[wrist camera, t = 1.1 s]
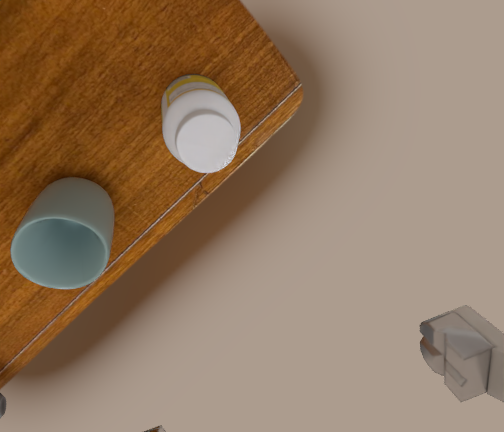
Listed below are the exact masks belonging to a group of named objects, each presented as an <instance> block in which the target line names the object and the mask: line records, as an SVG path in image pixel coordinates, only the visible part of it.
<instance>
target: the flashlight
mask: <svg viewBox="0 0 504 432" xmlns="http://www.w3.org/2000/svg"><path fill="white" fill-rule="evenodd" d="M5 410H6V399H5V397H4V396H3V395H2V394H1V393H0V418H1V417H2V416H3V415H4V413H5Z"/></svg>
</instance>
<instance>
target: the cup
mask: <svg viewBox="0 0 504 432" xmlns="http://www.w3.org/2000/svg"><path fill="white" fill-rule="evenodd" d="M114 224H115V212H114V206H113V202H112V200H111V198H110V196H109V194H108V193H107V192H106V191H105V190H104V189H103V188H102V187H101V186H100V185H98V184H96V183H94V182H92V181H90V180H87V179H83V178H78V177H66V178H62V179H58V180H56V181H54V182H52V183H50V184H49V185H48V186H47V187H45V188H44V189H43V190H42V191H41V192H40V193H39V194H38V196H37V197H36V198H35V200H34V201H33V202H32V204H31V205H30V207H29V208H28V210H27V211H26V213H25V215H24V217H23V218H22V220H21V222H20V223H19V225H18V227H17V229H16V231H15V234H14V236H13V239H12V242H11V249H10V252H11V259H12V262H13V264H14V266H15V267H16V269H17V270H18V272H19V273H21V274H22V275H23V276H24V277H25V278H27V279H29V280H30V281H32V282H34V283H37V284H39V285H42V286H46V287H49V288H56V289H74V288H79V287H83V286H86V285H88V284H90V283H92V282H93V281H94V280H96V279H97V278H98V277H99V276H100V275H101V274H102V272H103V271H104V269H105V267H106V265H107V263H108V260H109V257H110V253H111V248H112V242H113V235H114Z"/></svg>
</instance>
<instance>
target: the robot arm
mask: <svg viewBox="0 0 504 432" xmlns="http://www.w3.org/2000/svg"><path fill="white" fill-rule="evenodd" d="M420 332H421V333H422V334H423V335H424V337H423V338H422V340H421V341H420V347H421V348H420V349H421V352H422V355H423V357H424V359H425V361H426V363H427V364H428V366H429V367H430V368H431V369H432V370H433V371H434V372H435V373H438V374H440V375H443V376H444V383H445V385H446V386H447V387H448V388H449V389H450V390H451V391H452V393H453V394H454V395H455V396H456V397H457V398H458V399H459V401H460V402H463V401H466V400H468V399H471V398H473V397H476V396H478V395H481V394H483V393H486V392H487V394H489V395H491V396H493V397H495V398H497V399H499V400H500V401H502V402H504V334H503V333H502V332H501V331H500V330H499V329H497V328H496V327H495V326H493V325H492V324H491V323H490V322H489V321H487V320H486V319H485V318H483V317H482V316H481V315H480V314H479V313H477V312H476V311H475V310H473V309H472V308H471V307H469V306H467V305H465V306H462V307H459V308H457V309H454V310H452V311H448V312H445V313H443V314H441V315H438V316H436V317H433V318H431V319H429V320H426V321H424V322H422V323H421V325H420ZM144 432H165V430H164V429H163V427H162V426H158V427H155V428H152V429H150V430H147V431H144Z"/></svg>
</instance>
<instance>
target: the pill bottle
mask: <svg viewBox="0 0 504 432" xmlns="http://www.w3.org/2000/svg"><path fill="white" fill-rule="evenodd" d="M161 117H162V132H163V138H164V141H165V144H166V146H167V148H168V149H169V151H170V152H171V153H172V155H173V156H174V157H175V158H177V159H178V160H179V161H181V162H182V163H184V164H185V165H186V166H187V167H189V168H190V169H192V170H194V171H197V172H201V173H212V172H216V171H219V170H221V169H223V168H224V167H226V166H227V165H228V164H229V163H230V162H231V161H232V159H233V158H234V156H235V153H236V151H237V145H238V141H239V138H240V131H241V127H240V120H239V117H238V114H237V112H236V110H235V108H234V107H233V105H232V104H231V102H230V101H229V99H228V98H227V97H226V95H225V94H224V93H223V91H222V90H221V88H220V87H219V86H218V85H217V84H216V83H215V82H214V81H213V80H211V79H210V78H208V77H205V76H202V75H198V74H188V75H184V76H181V77H179V78H177V79H175V80H174V81H173V82H172V83H170V85H169V86H168V87H167V88H166V90H165V92H164V94H163V97H162V101H161Z"/></svg>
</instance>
